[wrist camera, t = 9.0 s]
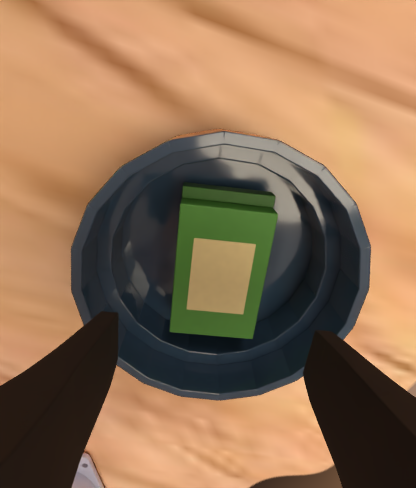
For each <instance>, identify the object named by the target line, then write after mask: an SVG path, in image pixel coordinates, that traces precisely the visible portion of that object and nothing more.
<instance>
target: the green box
mask: <svg viewBox="0 0 416 488" xmlns="http://www.w3.org/2000/svg"><path fill="white" fill-rule="evenodd" d="M275 198H276V196H275V195H274V194H273V193H272V192H268V191H259V190H250V189H241V188H232V187H223V186H214V185H205V184H196V183H188V182H184V184H183V187H182V199H181V203H180V210H179V222H178V234H177V246H176V258H175V270H174V282H173V294H172V306H171V318H170V329H169V331H170V332H174V333H186V334H198V335H210V336H221V337H233V338H245V339H253V335H254V330H255V325H256V320H257V315H258V311H259V306H260V301H261V296H262V291H263V286H264V281H265V277H266V272H267V267H268V262H269V257H270V252H271V247H272V243H273V238H274V233H275V228H276V223H277V218H278V214H277V212H276V211H275V210H274V209H273V207H274V203H275Z"/></svg>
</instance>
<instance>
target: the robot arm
mask: <svg viewBox="0 0 416 488" xmlns="http://www.w3.org/2000/svg"><path fill="white" fill-rule="evenodd" d="M118 325H119V313H117V312H106V311H101V312H100V313H98V314H97V315H96V316H95V317H94V318H92V319H91V320H90V321H89V322H88V323H87V324H85V325H84V326H83V327H82V328H81V329H80V330H78V331H77V332H76V333H75V334H74V335H72V336H71V337H70V338H69V339H67V340H66V341H65V342H64V343H62V344H61V345H60V346H59V347H57V348H56V349H55V350H53V351H52V352H51V353H49V354H48V355H47V356H45V357H44V358H43V359H41V360H40V361H38V362H37V363H36V364H34V365H33V366H31V367H30V368H29V369H27V370H25V371H24V372H22V373H21V374H19V375H18V376H16V377H14V378H13V379H11V380H10V381H8V382H6V383H5V384H3V385H1V386H0V488H104V486H103V484H102V482H101V480H100V477H99V475H98V473H97V471H96V468H95V466H94V464H93V462H92V459H91V457H90V456H89V454H87V453H83V452H84V449H85V447H86V445H87V442H88V440H89V437H90V435H91V432H92V430H93V427H94V425H95V423H96V420H97V418H98V415H99V413H100V410H101V408H102V405H103V403H104V401H105V398H106V396H107V393H108V391H109V388H110V385H111V382H112V379H113V375H114V371H115V368H116V364H117V360H118ZM303 376H304V381H305V385H306V389H307V393H308V396H309V400H310V403H311V405H312V408H313V411H314V413H315V416H316V418H317V421H318V424H319V426H320V429H321V431H322V434H323V436H324V439H325V441H326V444H327V446H328V449H329V451H330V454H331V456H332V459H333V461H334V464H335V466H336V469H337V472H338V475H339V478H340V481H341V484H342V487H343V488H416V397H414V396H413V395H411V394H410V393H408V392H407V391H406V390H405V389H403V388H402V387H401V386H399V385H398V384H397V383H395V382H394V381H393V380H391V379H390V378H389V377H388V376H386V375H385V374H384V373H382V372H381V371H380V370H379V369H377V368H376V367H375V366H374V365H373V364H371V363H370V362H369V361H368V360H366V359H365V358H364V357H363V356H362V355H360V354H359V353H358V352H357V351H356V350H354V349H353V348H352V347H351V346H350V345H348V344H347V343H346V342H345V341H343V340H342V339H341V338H340V337H338V336H337V335H336V334H334V333H333V332H332V331H322V330H315V333H314V336H313V340H312V343H311V346H310V350H309V353H308V357H307V360H306V364H305V367H304V370H303Z"/></svg>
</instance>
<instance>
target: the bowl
mask: <svg viewBox="0 0 416 488" xmlns="http://www.w3.org/2000/svg"><path fill="white" fill-rule="evenodd" d="M184 182H188V183H196V184H205V185H214V186H223V187H232V188H241V189H250V190H259V191H268V192H272V193H273V194H274V195H275V196H276V198H275V203H274V207H273V209H274V210H275V211H276V212H277V214H278V218H277V223H276V228H275V233H274V238H273V243H272V247H271V252H270V257H269V262H268V267H267V272H266V277H265V281H264V286H263V291H262V296H261V301H260V306H259V311H258V315H257V320H256V325H255V330H254V335H253V339H245V338H233V337H221V336H210V335H198V334H186V333H174V332H170V331H169V329H170V318H171V306H172V294H173V282H174V270H175V258H176V246H177V234H178V222H179V210H180V203H181V199H182V187H183V184H184ZM370 246H371V245H370V242H369V239H368V236H367V233H366V230H365V227H364V224H363V221H362V218H361V215H360V212H359V209H358V206H357V204H356V202H355V201H354V200H353V199H352V197H351V196H350V195H349V194H348V193H347V191H346V190H345V189H344V188H343V187H342V185H341V184H340V183H339V182H338V181H337V180H336V178H335V177H334V176H333V175H332V174H331V172H330V171H329V170H328V169H327V168H326V167H325V166H324V165H323V164H321V163H319V162H317V161H315V160H314V159H312V158H310V157H308V156H307V155H305V154H303V153H301V152H299V151H298V150H296V149H294V148H292V147H291V146H289V145H287V144H285V143H283V142H282V141H279V140H276V139H272V138H268V137H264V136H260V135H254V134H248V133H242V132H237V131H231V130H225V129H213V130H207V131H201V132H195V133H189V134H183V135H178V136H175V137H173V138H171V139H170V140H168V141H166V142H164V143H162V144H160V145H159V146H157V147H155V148H153V149H151V150H149V151H148V152H146V153H144V154H142V155H140V156H139V157H137V158H135V159H133V160H131V161H129V162H128V163H126V164H124V165H122V166H121V167H120V168H119V169H118V170H117V171H116V172H115V173H114V175H113V176H112V177H111V178H110V179H109V180H108V181H107V182H106V184H105V185H104V186H103V187H102V188H101V189H100V190H99V192H98V193H97V194H96V195H95V196H94V197H93V198H92V200H91V201H90V202H89V203H88V205H87V207H86V209H85V212H84V215H83V217H82V220H81V222H80V225H79V228H78V230H77V233H76V236H75V238H74V241H73V244H72V246H71V291H72V294H73V297H74V300H75V303H76V305H77V308H78V311H79V313H80V316H81V319H82V321H83V324H84V325H85V324H87V323H88V322H89V321H90V320H91V319H92V318H94V317H95V316H96V315H97V314H98V313H100V312H101V311H106V312H117V313H119V325H118V360H117V364H116V365H117V366H119V367H120V368H122V369H123V370H125V371H126V372H128V373H129V374H130V375H132V376H133V377H135V378H136V379H138V380H139V381H141V382H142V383H144V384H147V385H149V386H152V387H155V388H158V389H161V390H163V391H166V392H169V393H172V394H174V395H177V396H181V397H189V398H199V399H209V400H228V399H236V398H243V397H251V396H258V395H261V394H264V393H266V392H269V391H272V390H274V389H277V388H279V387H282V386H285V385H287V384H290V383H292V382H295V381H297V380H298V379H300V378H301V377H303V370H304V367H305V364H306V360H307V357H308V353H309V350H310V346H311V343H312V340H313V336H314V333H315V330H322V331H332V332H333V333H334V334H336V335H337V336H338V337H340V338H341V339H342V340H344V338H345V337H346V336H347V335H348V334H349V332H350V331H351V330H352V329H353V326H355V323H356V321H357V318H358V315H359V313H360V310H361V308H362V305H363V303H364V300H365V298H366V295H367V293H368V290H369V281H370V255H371V247H370Z"/></svg>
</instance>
